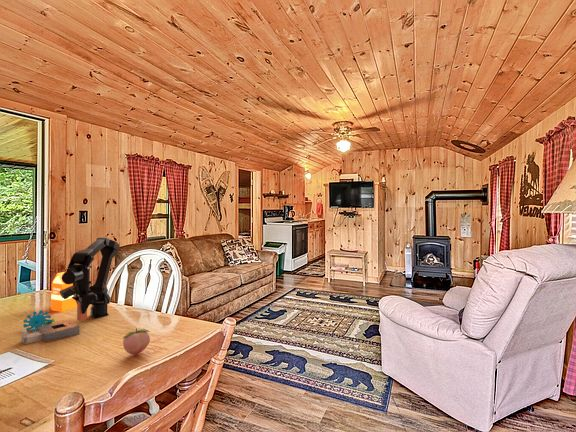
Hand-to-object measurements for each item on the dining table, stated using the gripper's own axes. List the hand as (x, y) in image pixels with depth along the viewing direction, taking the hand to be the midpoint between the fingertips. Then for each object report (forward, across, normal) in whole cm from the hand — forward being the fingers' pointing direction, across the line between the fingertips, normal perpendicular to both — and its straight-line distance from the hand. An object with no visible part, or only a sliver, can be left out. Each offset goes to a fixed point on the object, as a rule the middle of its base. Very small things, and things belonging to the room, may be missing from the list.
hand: (82, 312), depth 145 cm
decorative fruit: (+7, +46, +3) cm, 46 cm away
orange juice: (+6, -35, +3) cm, 36 cm away
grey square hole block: (+6, +3, -10) cm, 12 cm away
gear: (+7, -10, -14) cm, 18 cm away
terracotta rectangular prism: (+3, 0, 0) cm, 3 cm away
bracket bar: (+6, +3, -19) cm, 20 cm away
